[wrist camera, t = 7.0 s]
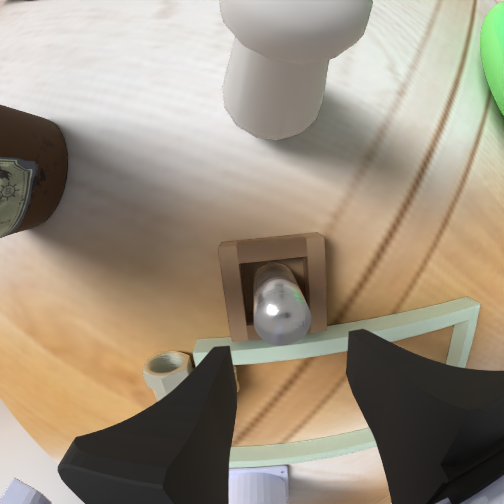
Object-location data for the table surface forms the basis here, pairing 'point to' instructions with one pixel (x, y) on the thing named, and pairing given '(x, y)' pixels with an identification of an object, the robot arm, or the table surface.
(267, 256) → the tan square frame
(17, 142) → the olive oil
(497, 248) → the table surface
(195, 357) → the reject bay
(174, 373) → the pipe fitting
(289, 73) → the salt shaker
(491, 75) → the toy bird
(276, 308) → the pin
